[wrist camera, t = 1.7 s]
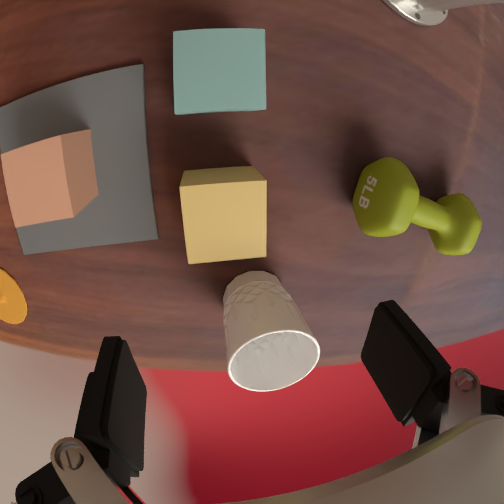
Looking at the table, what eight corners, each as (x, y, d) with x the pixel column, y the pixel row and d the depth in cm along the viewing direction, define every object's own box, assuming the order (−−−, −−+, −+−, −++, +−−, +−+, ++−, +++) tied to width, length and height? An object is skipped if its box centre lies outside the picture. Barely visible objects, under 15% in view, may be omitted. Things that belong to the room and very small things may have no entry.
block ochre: (184, 170, 24) (179, 186, 19) (251, 165, 25) (266, 180, 20) (189, 233, 27) (188, 264, 21) (252, 227, 28) (266, 256, 22)
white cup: (216, 324, 32) (226, 394, 23) (218, 264, 29) (229, 333, 20) (282, 321, 34) (308, 386, 25) (293, 264, 30) (330, 325, 21)
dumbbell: (337, 217, 29) (373, 247, 22) (362, 145, 26) (406, 158, 19) (432, 244, 33) (467, 270, 27) (453, 190, 30) (492, 210, 24)
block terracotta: (36, 143, 19) (0, 154, 14) (90, 129, 20) (60, 134, 15) (46, 203, 22) (15, 227, 16) (98, 194, 23) (73, 217, 17)
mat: (0, 108, 16) (-3, 108, 16) (144, 65, 19) (142, 63, 18) (26, 252, 24) (24, 254, 23) (158, 236, 26) (158, 239, 26)
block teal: (179, 50, 19) (173, 31, 14) (249, 47, 20) (264, 29, 15) (180, 114, 22) (174, 114, 16) (250, 110, 23) (266, 109, 17)
